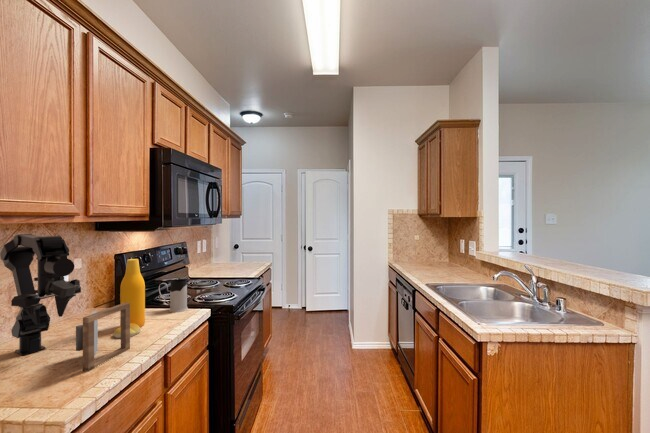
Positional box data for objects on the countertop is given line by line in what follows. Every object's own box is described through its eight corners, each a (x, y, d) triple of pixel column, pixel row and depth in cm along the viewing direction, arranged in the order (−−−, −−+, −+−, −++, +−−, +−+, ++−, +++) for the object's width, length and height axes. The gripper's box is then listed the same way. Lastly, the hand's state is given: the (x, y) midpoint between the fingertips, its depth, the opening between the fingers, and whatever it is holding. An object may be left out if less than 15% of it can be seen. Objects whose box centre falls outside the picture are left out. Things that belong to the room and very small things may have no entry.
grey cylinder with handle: (184, 312, 157) (184, 282, 157) (154, 312, 156) (154, 282, 156) (190, 307, 166) (190, 278, 166) (162, 307, 165) (162, 278, 165)
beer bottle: (115, 330, 133) (115, 261, 133) (128, 322, 142) (128, 258, 142) (137, 330, 133) (137, 261, 133) (149, 322, 142) (149, 258, 142)
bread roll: (109, 337, 125) (109, 327, 125) (130, 329, 133) (130, 320, 133) (123, 340, 122) (123, 330, 122) (144, 332, 130) (144, 322, 130)
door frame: (82, 370, 98) (82, 317, 98) (124, 348, 115) (124, 302, 115) (88, 371, 97) (88, 317, 97) (129, 348, 114) (129, 302, 114)
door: (65, 369, 98) (65, 324, 98) (78, 353, 109) (78, 312, 109) (87, 365, 100) (87, 321, 100) (97, 350, 111) (97, 310, 111)
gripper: (41, 279, 95) (41, 331, 95) (94, 269, 114) (94, 312, 114) (9, 278, 97) (9, 329, 97) (67, 268, 115) (67, 311, 115)
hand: (49, 320), depth 106 cm, fingers open, 7 cm apart
